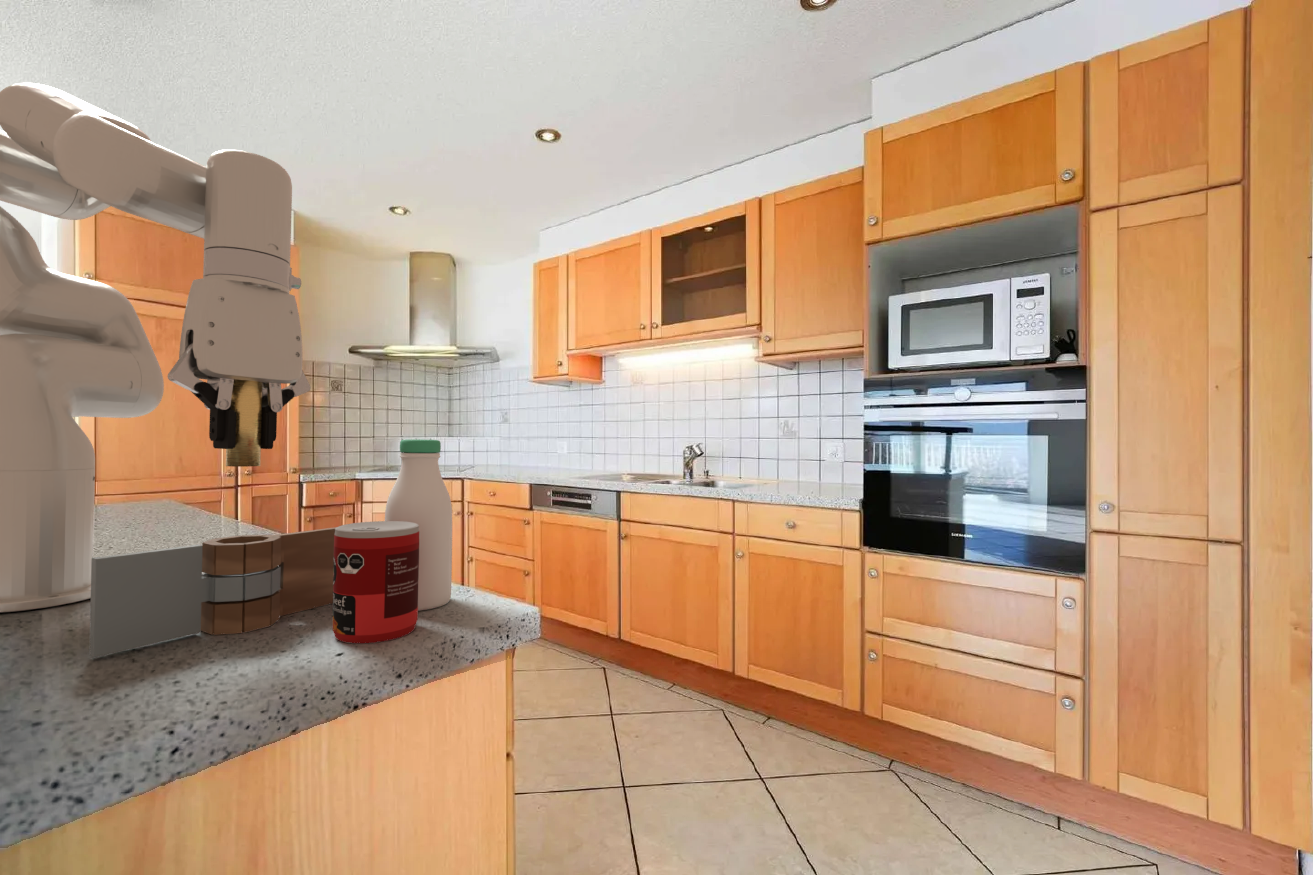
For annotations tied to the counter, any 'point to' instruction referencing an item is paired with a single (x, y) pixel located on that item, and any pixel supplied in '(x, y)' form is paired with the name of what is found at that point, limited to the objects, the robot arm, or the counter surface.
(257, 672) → the counter surface
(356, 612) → the canned food
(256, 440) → the hinge pin
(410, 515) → the milk bottle
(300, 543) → the hinge leaf fixed
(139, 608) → the hinge leaf swing
